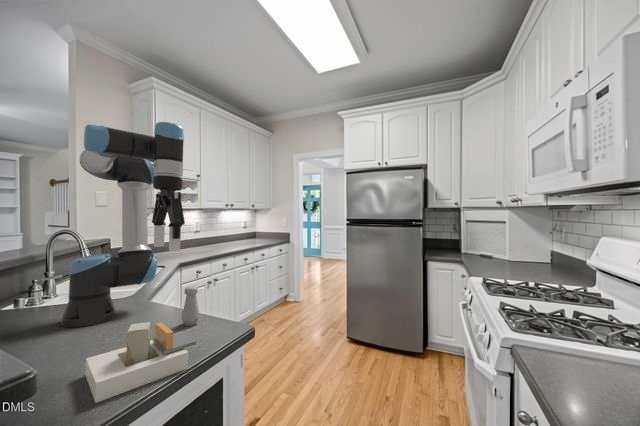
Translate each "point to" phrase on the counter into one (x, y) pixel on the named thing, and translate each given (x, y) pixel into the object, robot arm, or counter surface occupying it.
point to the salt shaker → (190, 307)
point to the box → (138, 343)
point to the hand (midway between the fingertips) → (166, 248)
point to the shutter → (171, 339)
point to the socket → (130, 370)
